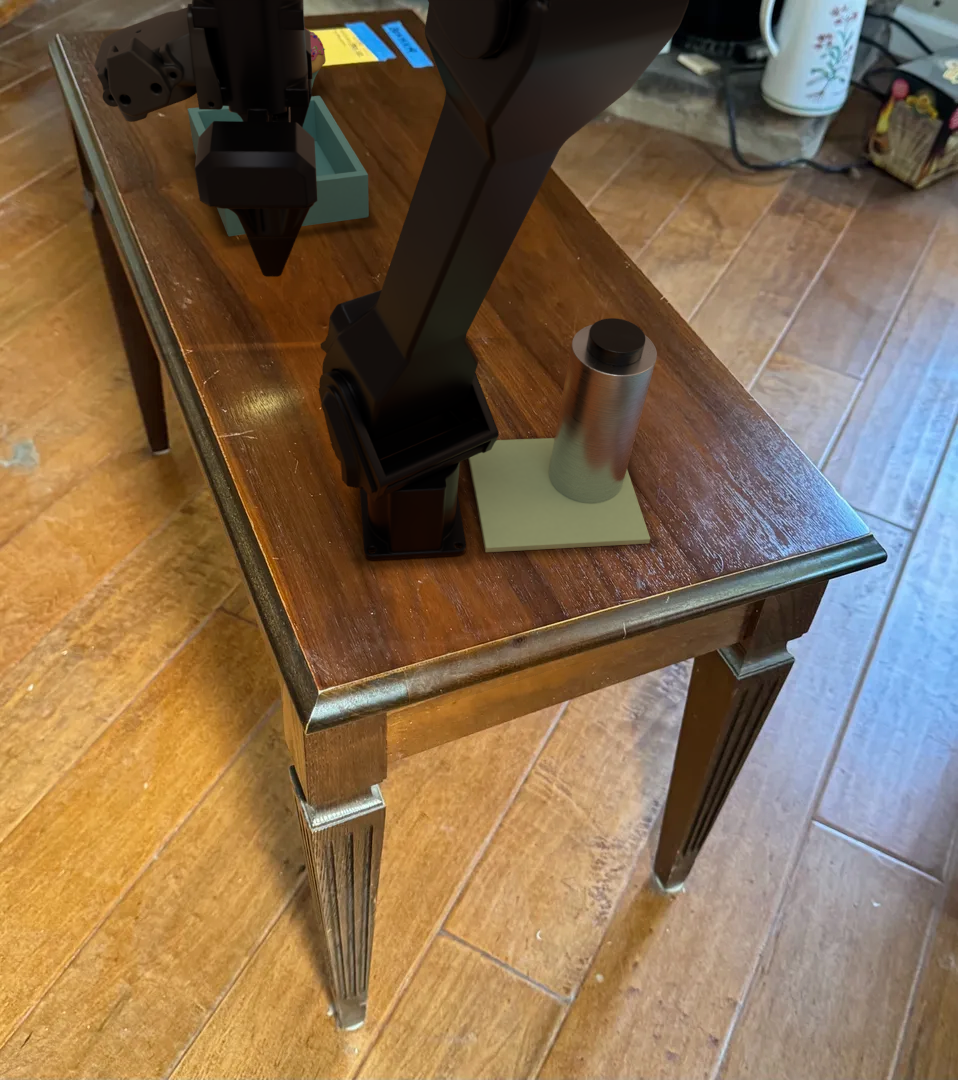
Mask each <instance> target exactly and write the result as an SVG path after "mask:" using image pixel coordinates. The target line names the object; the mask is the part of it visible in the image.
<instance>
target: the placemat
mask: <svg viewBox="0 0 958 1080" xmlns="http://www.w3.org/2000/svg"><path fill="white" fill-rule="evenodd" d="M554 439H555V437H545V438H543V437H542V438H518V439H517V438H515V439H497V440H496V442H495V443H494V445H493V447H492V449H491V450H489V451H487V452H485V453H482V452H481V453H479V454H477V455H475V456H472V457H470V458H468V459H467V460H468V465H469V469H470V470H469V471H470V475H471V482H472V487H473V492H474V497H475V498H474V499H475V503H476V509H477V514H478V520H479V525H480V531H481V536H482V541H483V547H484V552H485V553H500V552H516V551H517V552H519V551H536V550H537V551H538V550H554V549H573V548H590V547H591V548H593V547H612V546H628V545H644V544H650V542H651V537H650V534H649V530H648V528H647V525H646V521H645V519H644V515H643V512H642V508H641V506H640V503H639V500H638V497H637V494H636V491H635V488H634V486H633V482H632V479H631V476H630V474H629V470H628V469H627V470H626V474H625V478H624V481H623V485H622V488H621V490H620V491H619V493H618V494H617V495H616V496H614V497H613V498H611V499H609V500H607V501H604V502H600V503H582V502H577V501H574V500H571V499H569V498H567V497H565V496H564V495H562V494H561V493H560V492H558V491H557V490H556V489H555V488H554V486H553V485H552V483H551V481H550V478H549V466H550V461H551V455H552V450H553V444H554Z"/></svg>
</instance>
